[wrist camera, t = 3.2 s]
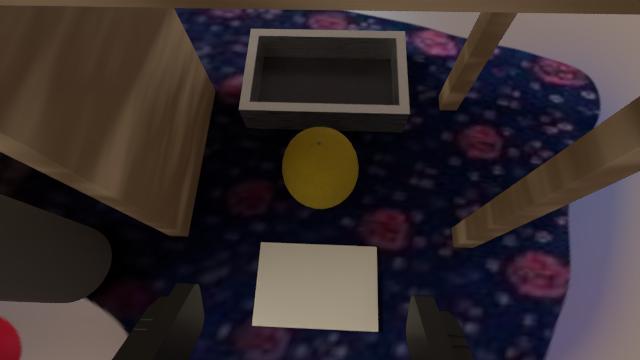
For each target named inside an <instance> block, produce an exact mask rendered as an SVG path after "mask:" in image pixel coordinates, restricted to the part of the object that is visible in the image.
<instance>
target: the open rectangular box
mask: <svg viewBox="0 0 640 360" xmlns="http://www.w3.org/2000/svg"><path fill="white" fill-rule="evenodd" d="M239 112H240V114H241V116H242V118H243V121H244V123H245V125H246V128H256V129H293V130H306V129H309V128H312V127H327V128H331V129H334V130H337V131H366V132H403V130H404V127H405V125H406V122H407V120H408V118H409V115H410V107H409V91H408V75H407V58H406V42H405V31H351V30H291V29H251V33H250V40H249V46H248V53H247V59H246V65H245V72H244V78H243V85H242V91H241V98H240V104H239Z"/></svg>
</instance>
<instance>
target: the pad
mask: <svg viewBox="0 0 640 360" xmlns="http://www.w3.org/2000/svg"><path fill="white" fill-rule="evenodd" d="M252 326H269V327H289V328H309V329H330V330H350V331H371V332H378V287H377V247H368V246H343V245H318V244H293V243H268V242H261V247H260V256H259V266H258V275H257V284H256V293H255V303H254V312H253V321H252Z"/></svg>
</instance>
